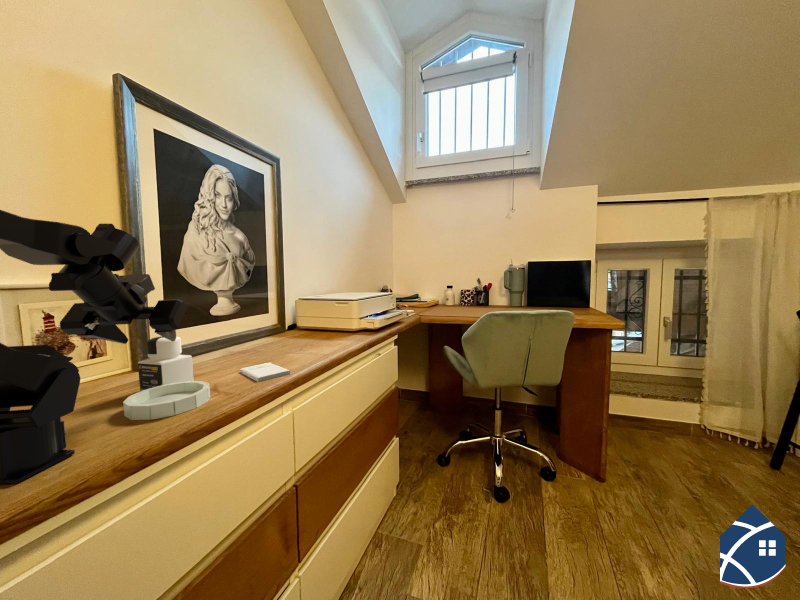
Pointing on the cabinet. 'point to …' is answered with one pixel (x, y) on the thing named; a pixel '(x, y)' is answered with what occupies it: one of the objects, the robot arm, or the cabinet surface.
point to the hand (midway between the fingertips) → (150, 340)
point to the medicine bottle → (164, 364)
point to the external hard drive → (264, 371)
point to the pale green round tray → (166, 400)
